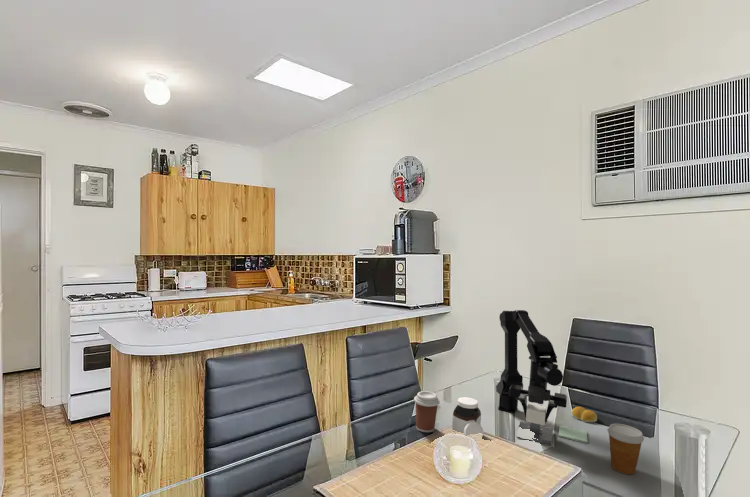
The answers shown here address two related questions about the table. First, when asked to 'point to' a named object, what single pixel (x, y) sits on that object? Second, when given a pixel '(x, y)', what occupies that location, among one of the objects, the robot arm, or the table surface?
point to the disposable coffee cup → (624, 447)
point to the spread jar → (467, 417)
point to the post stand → (539, 432)
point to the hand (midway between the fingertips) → (535, 419)
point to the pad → (573, 434)
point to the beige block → (536, 414)
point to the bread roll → (584, 414)
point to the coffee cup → (426, 410)
